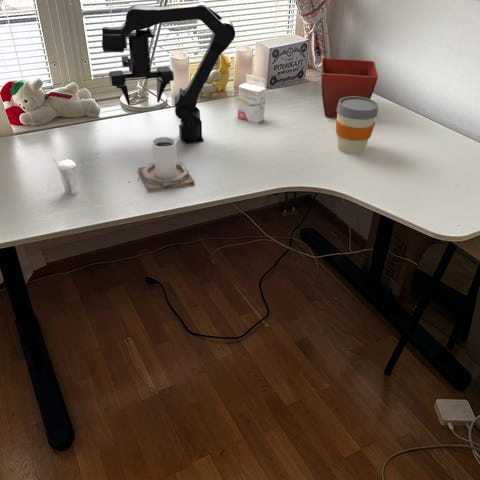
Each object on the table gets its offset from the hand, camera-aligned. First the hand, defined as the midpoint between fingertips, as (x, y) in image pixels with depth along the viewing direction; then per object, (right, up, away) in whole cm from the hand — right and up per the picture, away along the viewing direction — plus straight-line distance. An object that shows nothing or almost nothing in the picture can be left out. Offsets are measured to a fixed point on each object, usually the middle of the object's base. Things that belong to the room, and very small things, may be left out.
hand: (143, 103), depth 163 cm
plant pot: (+68, +5, +31) cm, 75 cm away
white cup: (+9, -24, -14) cm, 29 cm away
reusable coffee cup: (+66, -13, +6) cm, 67 cm away
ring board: (+9, -25, -14) cm, 30 cm away
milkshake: (-16, -30, -22) cm, 40 cm away
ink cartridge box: (+34, +1, +24) cm, 41 cm away
